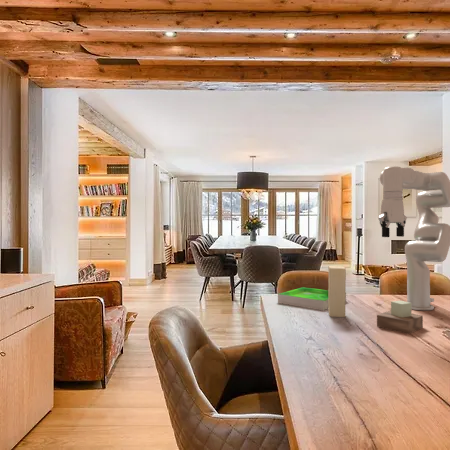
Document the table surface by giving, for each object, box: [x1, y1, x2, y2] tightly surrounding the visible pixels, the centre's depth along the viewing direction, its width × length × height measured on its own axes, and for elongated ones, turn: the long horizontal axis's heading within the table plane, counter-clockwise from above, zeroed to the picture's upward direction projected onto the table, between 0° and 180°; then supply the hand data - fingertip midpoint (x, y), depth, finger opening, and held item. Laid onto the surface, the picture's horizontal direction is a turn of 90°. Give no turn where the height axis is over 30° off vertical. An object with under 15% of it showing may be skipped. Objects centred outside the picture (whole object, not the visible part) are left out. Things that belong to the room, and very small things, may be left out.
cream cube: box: [390, 300, 412, 317], centre depth 142 cm, size 5×5×5 cm
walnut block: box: [376, 309, 424, 335], centre depth 142 cm, size 12×12×5 cm
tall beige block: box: [327, 265, 347, 318], centre depth 161 cm, size 8×7×21 cm
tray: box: [277, 286, 347, 311], centre depth 188 cm, size 25×25×5 cm
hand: (393, 236), depth 156 cm, fingers open, 9 cm apart
